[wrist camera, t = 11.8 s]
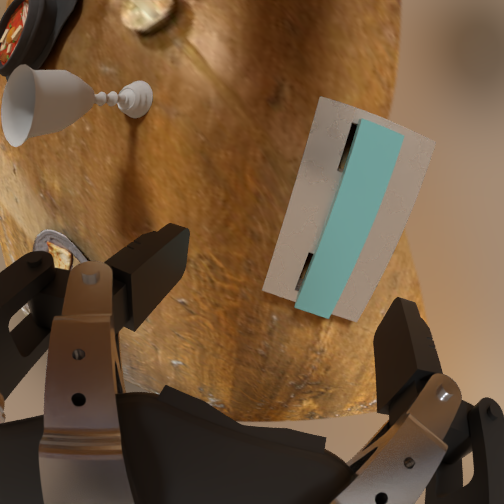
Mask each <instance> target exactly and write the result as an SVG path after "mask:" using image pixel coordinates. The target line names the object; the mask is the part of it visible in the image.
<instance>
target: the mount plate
mask: <svg viewBox="0 0 504 504" xmlns="http://www.w3.org/2000/svg"><path fill="white" fill-rule="evenodd" d="M361 118H363V119H365V120H368V121H371V122H373V123H376V124H378V125H381V126H383V127H386V128H388V129H390V130H393V131H395V132H397V133H400V134H402V135H404V139H403V142H402V146H401V149H400V152H399V155H398V158H397V161H396V164H395V167H394V170H393V172H392V175H391V178H390V181H389V184H388V186H387V189H386V192H385V194H384V197H383V200H382V202H381V205H380V207H379V210H378V213H377V215H376V218H375V220H374V222H373V225H372V227H371V230H370V232H369V235H368V237H367V239H366V242H365V244H364V246H363V248H362V251H361V253H360V255H359V258H358V260H357V262H356V264H355V266H354V269H353V271H352V273H351V275H350V277H349V279H348V281H347V283H346V286H345V288H344V290H343V292H342V294H341V296H340V298H339V300H338V302H337V304H336V306H335V308H334V310H333V312H332V314H333V315H336V316H339V317H342V318H345V319H348V320H351V321H354V322H357V321H358V319H359V318H360V316H361V314H362V312H363V311H364V309H365V307H366V305H367V303H368V301H369V300H370V298H371V296H372V294H373V292H374V290H375V288H376V286H377V285H378V283H379V281H380V279H381V277H382V275H383V273H384V271H385V269H386V267H387V265H388V263H389V260H390V258H391V256H392V254H393V252H394V250H395V248H396V246H397V243H398V241H399V239H400V237H401V234H402V232H403V230H404V228H405V225H406V223H407V221H408V218H409V216H410V213H411V211H412V208H413V206H414V203H415V201H416V198H417V196H418V193H419V190H420V188H421V185H422V182H423V180H424V177H425V174H426V171H427V168H428V165H429V162H430V159H431V156H432V153H433V150H434V147H435V144H436V142H435V141H433V140H431V139H429V138H427V137H425V136H423V135H421V134H419V133H417V132H414V131H412V130H410V129H408V128H406V127H403V126H401V125H399V124H396V123H394V122H392V121H389V120H387V119H384V118H382V117H380V116H377V115H374V114H372V113H369V112H367V111H364V110H361V109H358V108H356V107H353V106H350V105H347V104H344V103H341V102H338V101H335V100H332V99H328V98H325V97H322V96H320V98H319V102H318V105H317V109H316V112H315V116H314V119H313V123H312V126H311V130H310V133H309V137H308V140H307V144H306V147H305V151H304V154H303V158H302V161H301V165H300V168H299V171H298V175H297V178H296V182H295V185H294V188H293V192H292V195H291V198H290V202H289V205H288V208H287V212H286V215H285V218H284V221H283V225H282V228H281V231H280V234H279V238H278V241H277V244H276V247H275V251H274V254H273V257H272V260H271V263H270V266H269V270H268V273H267V276H266V279H265V282H264V285H263V289H262V291H265V292H268V293H271V294H274V295H277V296H279V297H282V298H285V299H288V300H291V301H294V302H296V298H297V294H298V292H299V289H300V287H301V284H302V282H303V279H301V278H299V277H300V274H301V272H302V269H303V266H304V264H305V261H306V258H307V256H308V253H309V252H310V253H313V254H314V251H315V248H316V246H317V243H318V240H319V238H320V235H321V232H322V230H323V227H324V224H325V221H326V219H327V216H328V213H329V210H330V207H331V205H332V202H333V199H334V196H335V193H336V190H337V187H338V184H339V181H340V178H341V175H342V172H343V169H341V168H338V166H339V163H340V160H341V157H342V154H343V150H344V147H345V144H346V141H347V137H348V134H349V131H350V127H351V124H354V125H358V121H359V119H361Z"/></svg>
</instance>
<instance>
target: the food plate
mask: <svg viewBox="0 0 504 504" xmlns="http://www.w3.org/2000/svg"><path fill="white" fill-rule="evenodd" d="M35 239H36V241H34V243H35V245H34V246H33V251H46V252H49V253H50V254H51V255H52V256H53V259H54V265H55V267H56V268H61V269H66V270H72V267H73V265H72V264H73V260H74V259H73V255H74V256H75V257H76V258H77V259H78V260H79V262H81V263H83V262H87V258H85V257H84V256H83V255H82V253H81V252H80V251H79V249H77V248H78V247H77V248H76V246H75V245H74V244H73V243H72V242H71V241H70V240H69V239H68V238H67V237H66V236H65V235H63V234H62V233H59V232H56V231H53V230H49V229H48V230H47V229H46V230H43V231H41V233H40V234H38V235H37V238H35Z"/></svg>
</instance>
